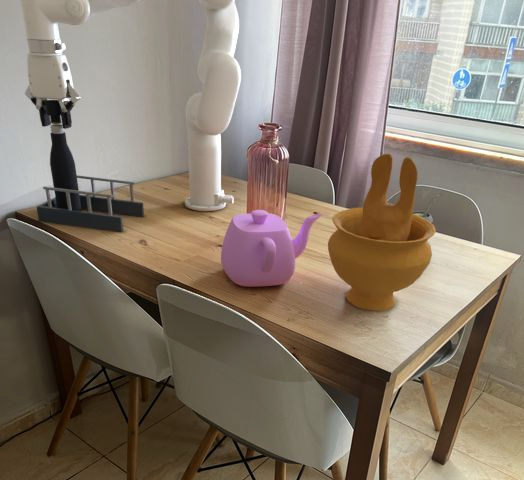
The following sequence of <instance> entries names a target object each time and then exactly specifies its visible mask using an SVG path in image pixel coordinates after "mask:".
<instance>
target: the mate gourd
mask: <svg viewBox="0 0 524 480" xmlns="http://www.w3.org/2000/svg"><path fill="white" fill-rule="evenodd" d="M443 195H444V194H443V193H439V194H438V195H436V196H434V197H433V198H432V199H430V201H429V203H428V205H427V207H426V208H425V209H426V210H425V211H420V210H419V211H417V210H416V211H413V212H412V214H414V215H417V216H419V217H422V218H424V219H426V220H427V221H429V222H430V223H431V224H433V225H434V222H433V221H434V219H433V217H432V215H431V214H430V213H429V210H430V208H431V206H432V205H433V204H434V202H435V200H437V199H438V198H440V197H441V196H443ZM428 240H429V239H428ZM428 240H427V241H428ZM428 242H429V241H428Z"/></svg>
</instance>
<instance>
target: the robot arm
mask: <svg viewBox="0 0 524 480" xmlns="http://www.w3.org/2000/svg"><path fill="white" fill-rule="evenodd" d="M142 1H143V0H20V4H21V9H22V15H23V22H24V28H25V29H24V30H25V34H26V35H25V36H26V41H27V46H28V47H27V48H28V52H29V53H27V61H26V63H27V77H28V86H27V88H26V89H25V92H24V95H25V96H26V97H27V98H28V99H29V100H30V101H31V103H32V104H33V105H34V106H35V108H36V110H37V111H38V113H39V119H40V123H41V127H42V128H45V127H49V126H51V125H52V123H51V118H50V115H47V111H46V104H45V101H46V100H58V101H59V104H60V106H61V108H62V112H61V115H60V117H61V122H62V123H61V125H62V126H63V129H64V130H66V129H69V128H72V127H73V126H72V123H73V120H72V115H71V114H72V113H71V111H73V108H74V107H75V105H76V104H77V103H78V101H80V100H81V97H80V95H79V94H78V93H77V92H76V90H75V88H74V81H73V76H72V73H71V69H70V64H69V61H68V59H67V56H66V54H63V51H65V50H66V45H65V43H62V41H61V37H60V31H59V29H60V28H59V24H64V25H65V24H66V25H70V26H80V25H83V24H85V23H86V22H87V21H88V19H90V18H91V17H94V16H96V15H98V14H101V13H104V12H106V11H109V10H113V9H117V8H123V7H129V6H131V5H134V4H138V3H139V2H142ZM197 1H198V2H199V4H200V5H201V7H202V8H203V10H204V13H205V16H206V17H205V18H206V28H205V35H204V40H203V43H202V48H201V52H200V56H199V60H198V64H197V77H198V79H199V81H200V83H201V84H202V85H203V86H202V89H201V91H199V92H196V93H193V94H192V95H191V96H190V97H189V98H188V100H187V102H186V105H185V111H184V114H185V115H184V116H185V124H186V132H187V133H186V134H187V142H188V143H187V148H188V150H187V151H188V153H187V154H188V155H187V156H188V181H189V182H188V185H189V186H188V187H189V197H187V198H186V199H185V200H184V206H185V207H186V208H187V209H190V210H192V211H193V210H194V211H198V212H215V211H219V210H222V209H224V208H225V207H226V206H227V204H231V205H233V204H234V203H235V197H233V195H232V194H231V195H230V194H226V193H225V191H224V189H222V138H221V134H223V133H224V132H225V131H226V130H227V129H228V127H229V125H230V124H231V123H230V122H231V120H232V117H233V114H234V109H235V106H236V102H237V99H238V94H239V90H240V86H241V81H242V73H241V67H240V64H239V62H238V60H237V59H236V58H235V57H234V56H235V52H236V48H237V47H236V46H237V42H238V36H239V31H240V18H239V11H238V9H237V5H236V2H235V1H236V0H197ZM69 99H70V100H69Z"/></svg>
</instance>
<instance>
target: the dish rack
mask: <svg viewBox="0 0 524 480" xmlns="http://www.w3.org/2000/svg"><path fill="white" fill-rule="evenodd" d="M76 175H77V174H76ZM77 179H83V180H90V187H91V191H83V190H79V191H76V190H68V189H60V188H54V187H52V186H42V189H43V190H45V195H46V201H45V202H43V203H41V204H39V205H37V206H36V212H37V218H38V221H39V222H44V223H45V222H46V223H51V224H52V223H53V224H60V225H67V226H75V227H80V228H81V227H82V228H89V229H96V230H102V231H110V232H119V233H123V232H124V224H123V222H124V221H123V216H124V215H126V216H131V217H139V218H144V217H145V211H144V209H145V208H144V202H141V201H135V194H134V193H135V192H134V186H135V184H136V183H135V181H128V180H120V179H111V178H103V177H94V176H87V175H77ZM95 181H100V182H108V183H109V186H110V194H109V193H108V194H107V193H99V192H96V183H95ZM114 183H117V184H126V185H129V195H130V200H126V199H118V198H116V194H115V185H114ZM50 191H53V192H54V191H62V192H66V198H67V204H68V209H61V208H57V204H56V198H55V197H53V198H51V193H50ZM69 192H70V193H78V194H79V196H80V203H81V210H82V211H76V210H72V207H71V201H70V194H69ZM83 210H86V211H83ZM98 212H100V213H98ZM104 213H105V214H104ZM106 213H108V214H106ZM113 214H115V215H113ZM121 215H123V216H121Z"/></svg>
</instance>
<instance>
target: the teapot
mask: <svg viewBox="0 0 524 480" xmlns="http://www.w3.org/2000/svg"><path fill="white" fill-rule="evenodd" d="M322 216H323V213H316V214H311V215H309V216H307V217H306V218H305V219H304V220H303V222H302V224H301V227H300V229H299V232H298V233H297V235H296V237H294V238H293V239H292V236H291V233H290V229H289V228H288V225H287V223H286V221H284V219H283V218H281V216H279V215H277V214H275V213H271V212H270V213H269V212H268V211H266V210H265V209H264V210H263V209H255V210H252V211H251V212H250V213H239V214H235V215H234V216H232V219H231V220H230V222H229V224H228V227H227V230H226V231H225V235H224V237H223V241H222V245H221V252H220V263H221V266H222V268H223V270H224V272H225V274H226V275H227V277H228V278H229V279H230V280H231V281H232V282H233V283H234V284H236V285H238V286H241V287H270V286H279V285H285V284H286V283H289V281H290V279H291V278H292V277H293V276H294V273H295V270H296V259H298V258H299V257H300V256H301V255H302V254H303V253H304V252H305V250H306V248H307V245H308V242H309V238H310V237H309V236H310V233H311V229H312V227H313V224H314V223H315V222H316V221H317V220H318V219H320V218H321V217H322Z"/></svg>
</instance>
